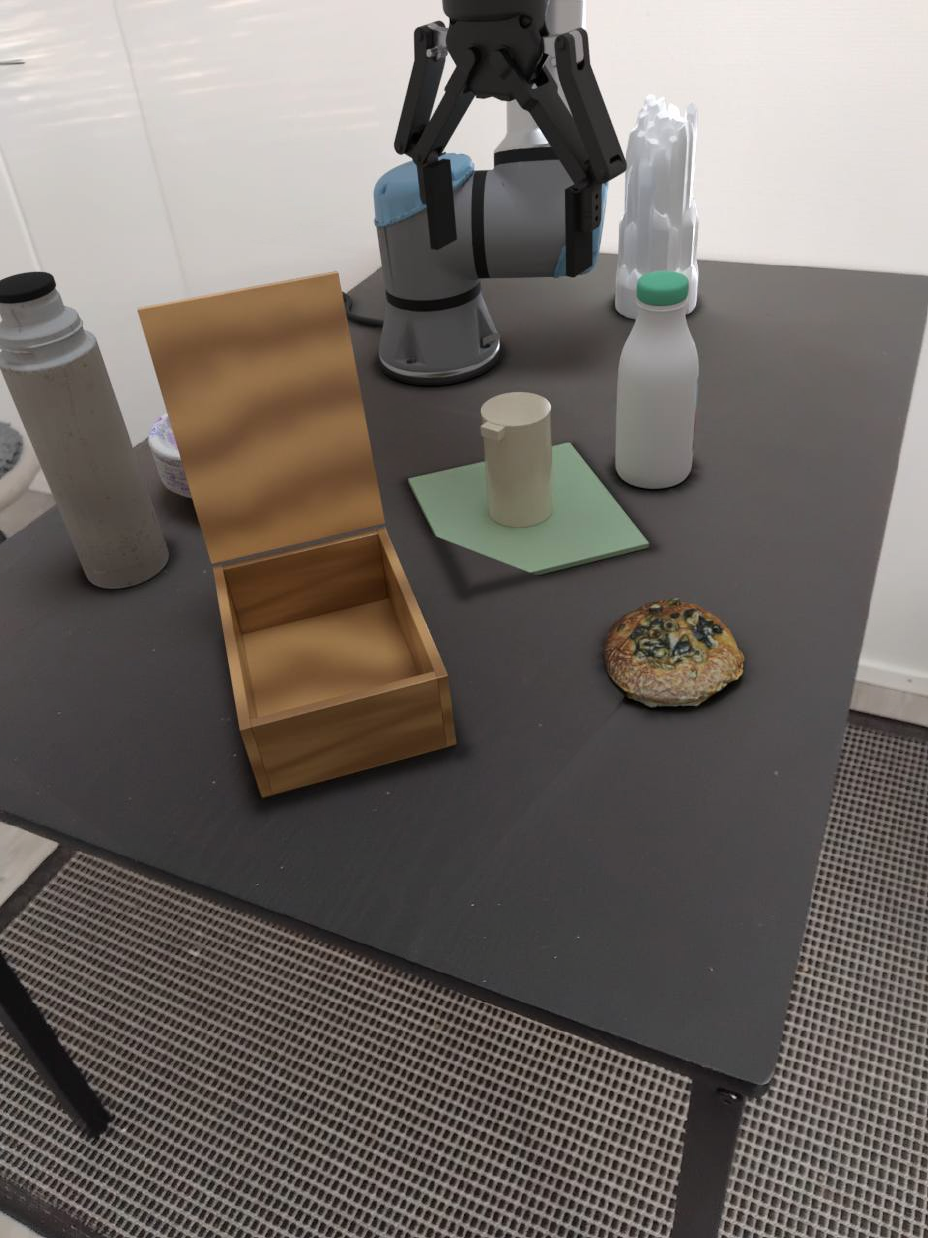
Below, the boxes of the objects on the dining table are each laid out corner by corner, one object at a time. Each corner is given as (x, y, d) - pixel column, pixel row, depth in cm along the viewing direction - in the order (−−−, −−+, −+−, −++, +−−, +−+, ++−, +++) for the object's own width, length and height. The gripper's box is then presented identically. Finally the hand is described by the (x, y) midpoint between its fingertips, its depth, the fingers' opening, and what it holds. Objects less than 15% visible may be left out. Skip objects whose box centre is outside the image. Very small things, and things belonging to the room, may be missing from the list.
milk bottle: (690, 492, 97) (706, 295, 84) (611, 489, 98) (615, 295, 85) (692, 452, 102) (707, 262, 90) (618, 450, 104) (622, 262, 91)
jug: (523, 540, 92) (518, 436, 85) (469, 520, 95) (460, 419, 88) (577, 493, 97) (576, 392, 90) (524, 475, 100) (519, 377, 93)
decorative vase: (702, 318, 127) (718, 106, 111) (619, 323, 128) (624, 114, 112) (688, 286, 136) (702, 85, 120) (610, 291, 136) (614, 92, 120)
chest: (457, 751, 73) (448, 675, 68) (264, 805, 71) (239, 730, 66) (396, 597, 88) (384, 526, 83) (234, 637, 85) (212, 566, 80)
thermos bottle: (117, 535, 99) (13, 259, 81) (184, 545, 97) (92, 263, 79) (69, 582, 93) (-55, 297, 75) (139, 594, 91) (29, 303, 73)
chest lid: (338, 272, 72) (328, 261, 76) (137, 309, 69) (138, 296, 74) (385, 523, 82) (373, 501, 86) (211, 564, 80) (208, 539, 84)
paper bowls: (179, 456, 110) (159, 392, 105) (313, 442, 110) (300, 377, 105) (156, 533, 99) (133, 465, 94) (306, 517, 99) (291, 448, 94)
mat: (408, 483, 102) (407, 478, 102) (569, 446, 105) (569, 441, 105) (462, 594, 87) (462, 589, 87) (648, 548, 90) (649, 542, 90)
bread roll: (632, 602, 84) (641, 559, 80) (756, 652, 80) (771, 609, 77) (575, 687, 77) (582, 644, 74) (708, 746, 74) (722, 704, 70)
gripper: (323, -47, 71) (365, 248, 84) (625, -44, 58) (617, 301, 72) (390, -63, 75) (420, 220, 89) (685, -64, 62) (667, 265, 76)
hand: (508, 257), depth 80 cm, fingers open, 13 cm apart
